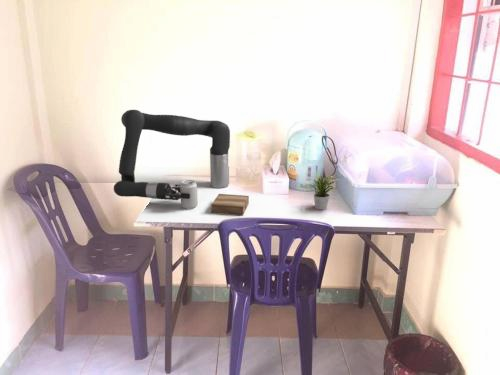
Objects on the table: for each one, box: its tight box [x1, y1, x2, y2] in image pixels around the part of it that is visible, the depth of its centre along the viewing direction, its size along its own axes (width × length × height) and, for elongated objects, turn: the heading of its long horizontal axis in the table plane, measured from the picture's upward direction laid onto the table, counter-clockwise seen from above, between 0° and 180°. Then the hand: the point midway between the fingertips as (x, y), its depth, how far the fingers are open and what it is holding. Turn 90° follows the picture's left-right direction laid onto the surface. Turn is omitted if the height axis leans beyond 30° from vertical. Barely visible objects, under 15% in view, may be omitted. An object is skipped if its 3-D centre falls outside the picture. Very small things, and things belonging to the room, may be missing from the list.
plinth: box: [210, 193, 250, 216], centre depth 195 cm, size 14×14×4 cm
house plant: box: [308, 172, 340, 211], centre depth 194 cm, size 14×14×16 cm
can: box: [179, 179, 199, 210], centre depth 195 cm, size 8×8×12 cm
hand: (192, 193), depth 194 cm, fingers open, 8 cm apart
